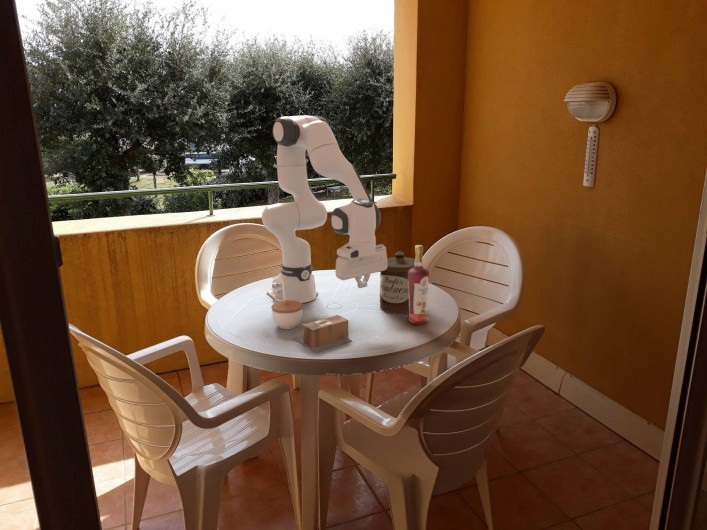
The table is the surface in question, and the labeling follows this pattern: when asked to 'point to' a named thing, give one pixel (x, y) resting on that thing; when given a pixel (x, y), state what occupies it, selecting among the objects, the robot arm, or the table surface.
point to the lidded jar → (287, 313)
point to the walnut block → (325, 331)
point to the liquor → (418, 289)
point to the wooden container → (395, 284)
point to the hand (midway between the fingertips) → (362, 287)
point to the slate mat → (322, 347)
